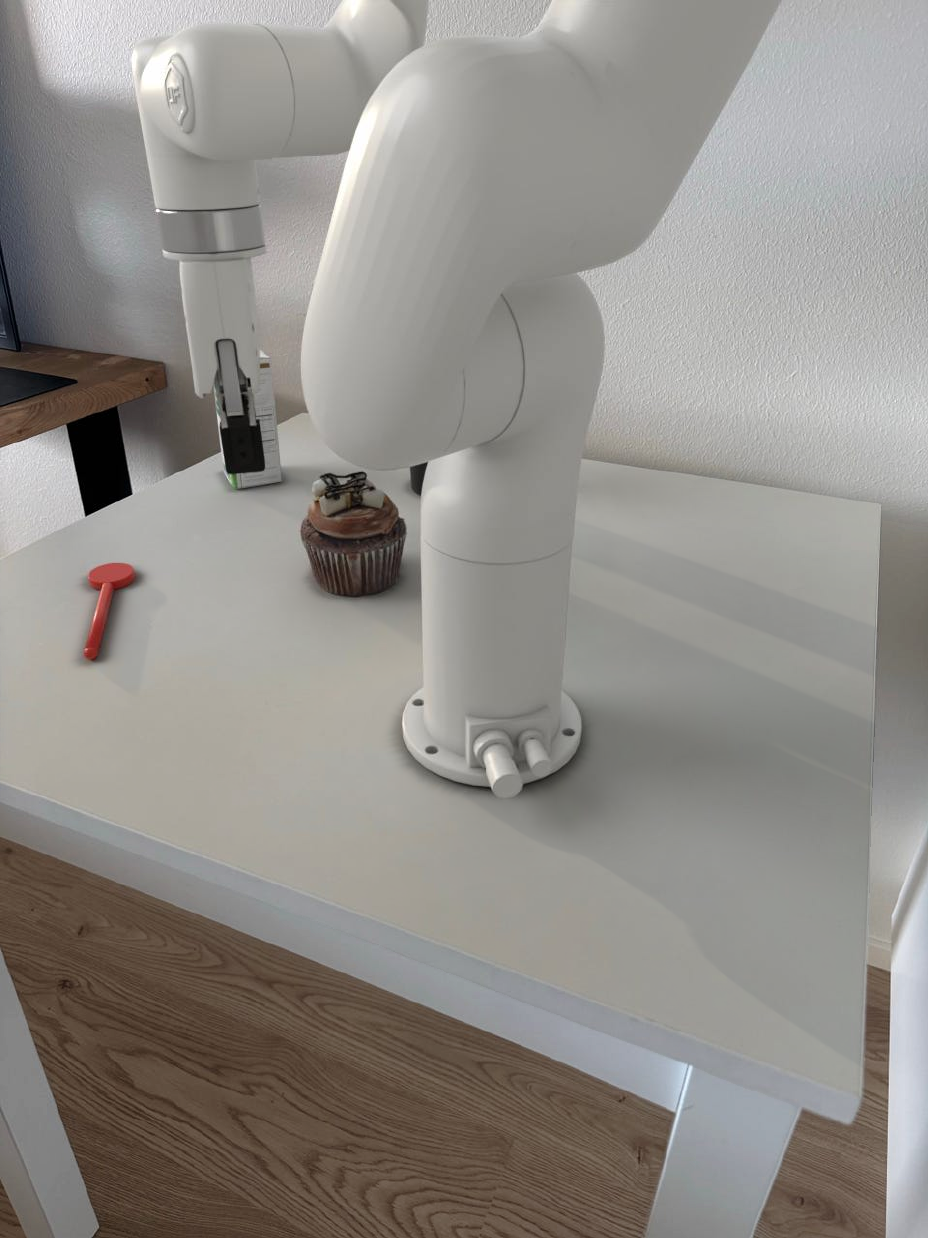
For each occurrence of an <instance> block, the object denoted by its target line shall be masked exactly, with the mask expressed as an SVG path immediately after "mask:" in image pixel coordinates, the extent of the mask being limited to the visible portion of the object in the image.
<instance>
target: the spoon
mask: <svg viewBox="0 0 928 1238" xmlns="http://www.w3.org/2000/svg"><path fill="white" fill-rule="evenodd" d="M135 578H136V574H135V569H134V567H133V566H132V565H131V564H128V563H126V562H109V563H104V564H101V565H98V566H96V567H94V568H92V569H91V570H89V572H88V573H87V580H88V583H89V586H90V587H91V588H92V589H95V590H99V591H100V593H99V596H98V600H97V604H96V607H95V610H94V614H93V618H92V621H91V624H90V629H89V632H88V636H87V640H86V643H85V647H84V650H83V656H84V658H86V659H87V660H95V658H97V657H98V653H99V649H100V645H101V642H102V638H103V634H104V629H105V625H106V621H107V618H108V614H109V610H110V605H111V602H112V598H113V595H114V590H117V589H123V588H124V587H127V586H128V585H130V584H131V583H133V582H134V580H135Z"/></svg>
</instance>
